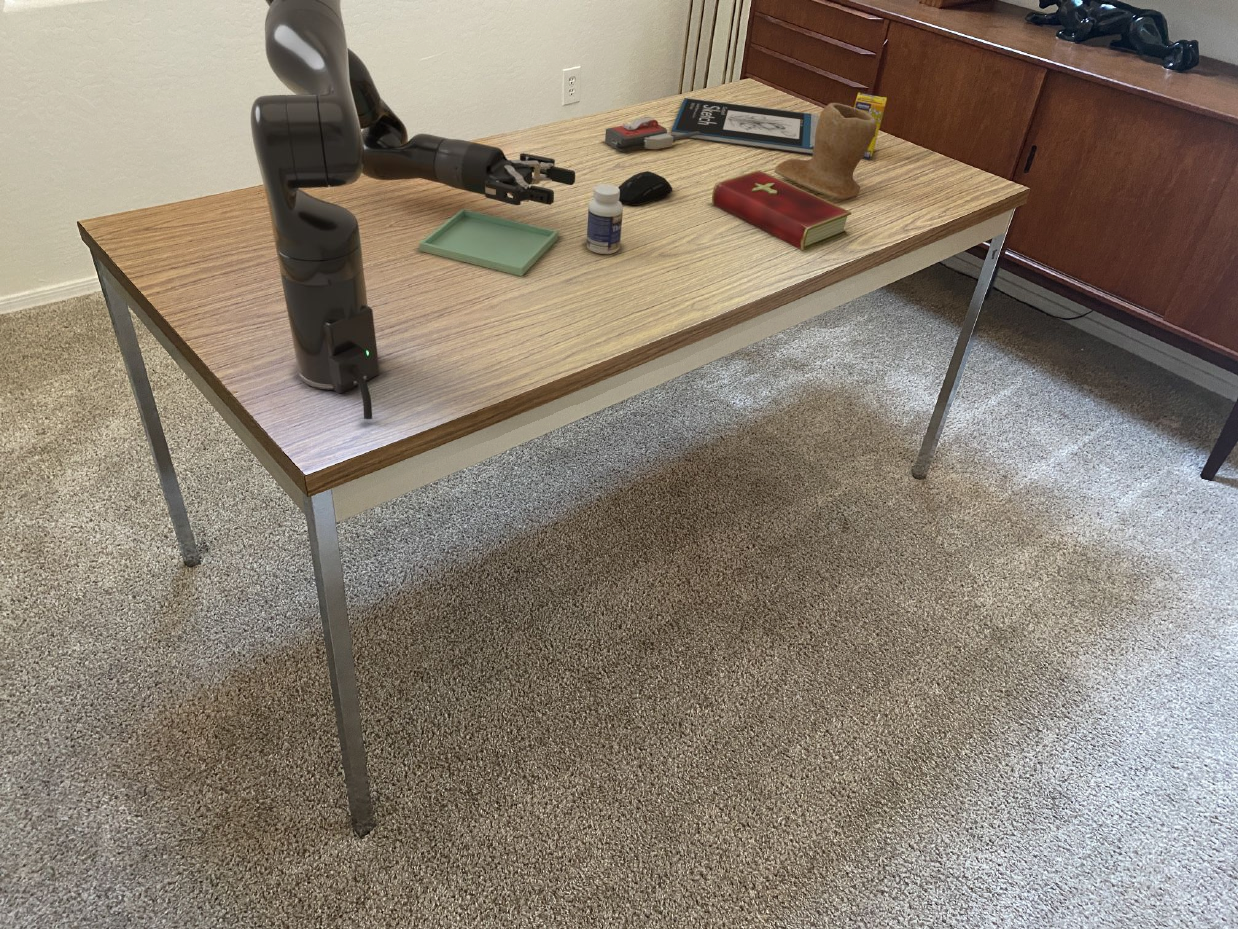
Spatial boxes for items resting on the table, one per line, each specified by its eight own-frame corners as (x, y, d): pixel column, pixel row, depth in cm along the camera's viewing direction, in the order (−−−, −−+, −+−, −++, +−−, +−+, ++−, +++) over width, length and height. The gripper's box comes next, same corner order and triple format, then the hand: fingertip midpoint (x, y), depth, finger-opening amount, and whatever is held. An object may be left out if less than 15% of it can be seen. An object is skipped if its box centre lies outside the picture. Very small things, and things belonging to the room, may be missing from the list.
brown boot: (872, 193, 169) (894, 112, 159) (835, 208, 162) (856, 125, 153) (808, 167, 177) (825, 88, 167) (770, 180, 170) (786, 99, 160)
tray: (558, 238, 145) (558, 230, 144) (521, 276, 134) (521, 268, 133) (462, 215, 148) (462, 208, 148) (419, 250, 138) (419, 242, 137)
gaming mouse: (594, 200, 157) (595, 178, 154) (654, 182, 165) (656, 161, 163) (618, 213, 154) (620, 191, 151) (678, 194, 162) (681, 172, 159)
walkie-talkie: (624, 158, 173) (702, 141, 183) (626, 135, 170) (705, 119, 180) (597, 143, 178) (674, 127, 188) (599, 120, 175) (677, 106, 185)
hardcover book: (801, 251, 148) (807, 227, 145) (710, 205, 159) (714, 182, 157) (846, 233, 154) (851, 210, 152) (755, 190, 166) (759, 168, 163)
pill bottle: (615, 257, 141) (620, 198, 135) (582, 252, 142) (586, 193, 136) (622, 242, 145) (627, 184, 139) (590, 237, 146) (593, 179, 140)
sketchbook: (683, 103, 201) (684, 94, 199) (817, 122, 198) (819, 112, 197) (670, 136, 184) (671, 125, 183) (816, 156, 182) (819, 146, 180)
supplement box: (841, 155, 183) (854, 100, 176) (844, 145, 188) (857, 91, 181) (871, 160, 182) (885, 105, 175) (873, 150, 187) (887, 96, 180)
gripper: (447, 158, 135) (546, 180, 132) (489, 129, 146) (582, 149, 142) (450, 205, 140) (545, 228, 137) (490, 174, 151) (580, 194, 147)
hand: (564, 187), depth 140 cm, fingers open, 8 cm apart
